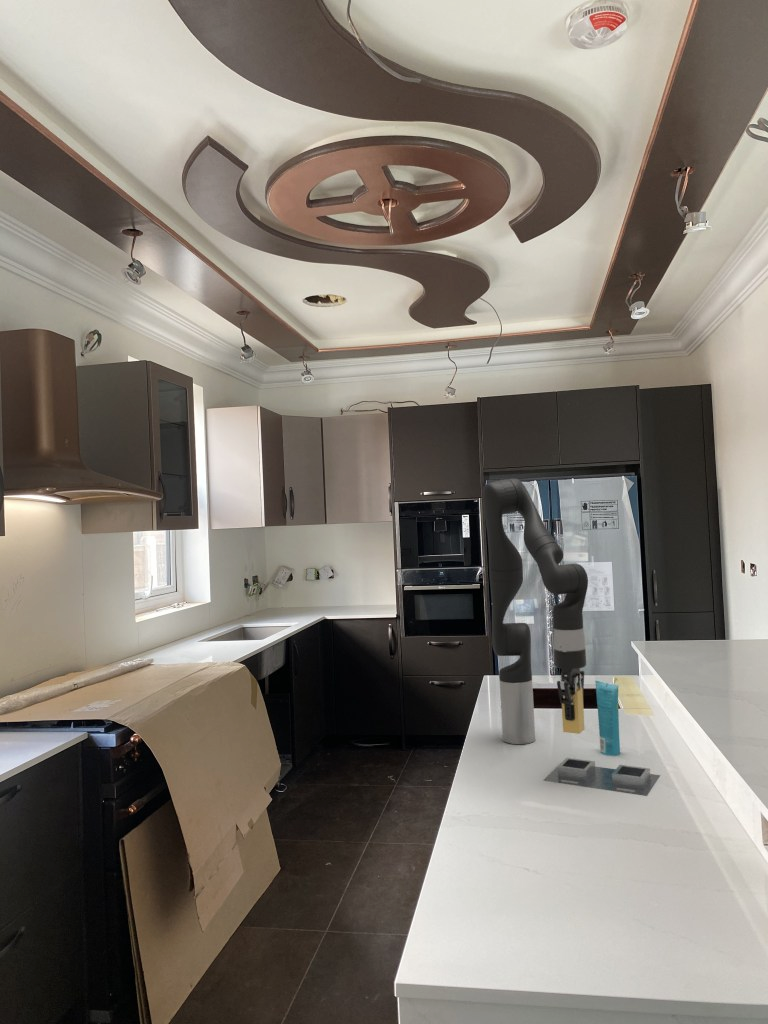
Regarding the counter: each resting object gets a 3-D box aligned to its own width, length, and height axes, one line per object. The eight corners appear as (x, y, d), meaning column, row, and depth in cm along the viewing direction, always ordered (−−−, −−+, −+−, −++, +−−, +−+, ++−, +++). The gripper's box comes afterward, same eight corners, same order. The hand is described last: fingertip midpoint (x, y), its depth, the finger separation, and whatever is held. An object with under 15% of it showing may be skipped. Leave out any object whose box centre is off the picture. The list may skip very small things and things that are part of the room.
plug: (568, 727, 184) (566, 683, 184) (584, 729, 182) (582, 684, 182) (563, 731, 181) (560, 687, 181) (579, 733, 178) (577, 688, 178)
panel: (562, 765, 190) (561, 752, 190) (660, 779, 178) (659, 764, 178) (543, 784, 178) (542, 769, 178) (647, 800, 166) (646, 784, 166)
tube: (628, 757, 194) (624, 683, 194) (617, 761, 191) (613, 686, 191) (603, 750, 200) (599, 679, 200) (592, 755, 197) (588, 682, 197)
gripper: (563, 641, 189) (567, 709, 189) (544, 651, 177) (548, 723, 177) (593, 642, 185) (597, 711, 185) (575, 653, 173) (579, 727, 173)
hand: (573, 717), depth 181 cm, fingers closed on plug, 4 cm apart
